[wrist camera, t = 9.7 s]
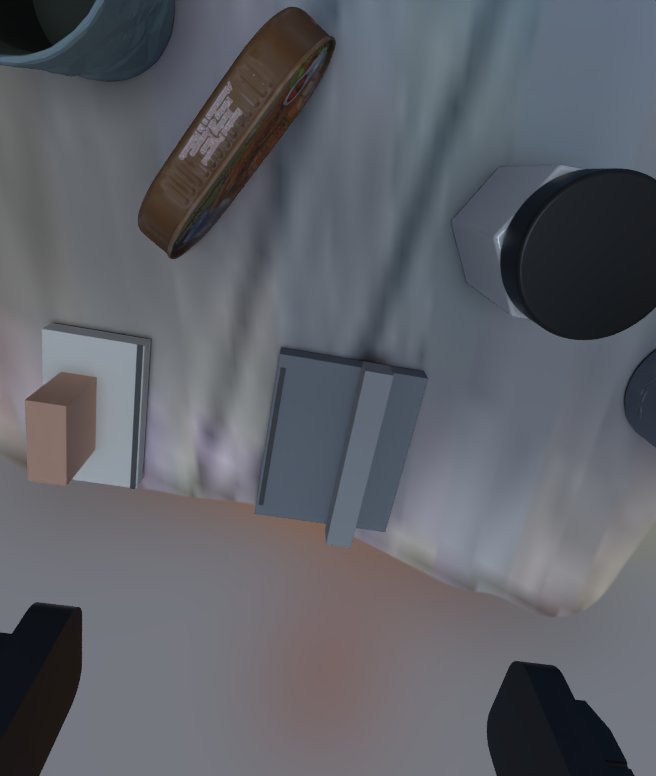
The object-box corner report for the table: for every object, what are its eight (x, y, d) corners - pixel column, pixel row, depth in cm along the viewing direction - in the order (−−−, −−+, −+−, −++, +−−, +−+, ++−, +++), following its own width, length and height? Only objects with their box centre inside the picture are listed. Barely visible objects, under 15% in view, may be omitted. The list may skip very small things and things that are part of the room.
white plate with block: (150, 339, 38) (120, 370, 32) (142, 478, 42) (114, 528, 36) (52, 322, 37) (1, 351, 31) (54, 465, 42) (10, 514, 36)
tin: (194, 252, 36) (160, 274, 28) (155, 221, 35) (110, 235, 27) (337, 62, 32) (345, 26, 24) (298, 21, 31) (292, -29, 23)
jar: (505, 318, 38) (582, 378, 27) (426, 245, 36) (475, 278, 25) (601, 221, 36) (730, 243, 25) (522, 136, 34) (625, 118, 23)
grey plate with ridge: (425, 365, 39) (435, 382, 36) (381, 525, 45) (386, 552, 42) (282, 340, 38) (279, 356, 35) (255, 507, 44) (250, 534, 41)
